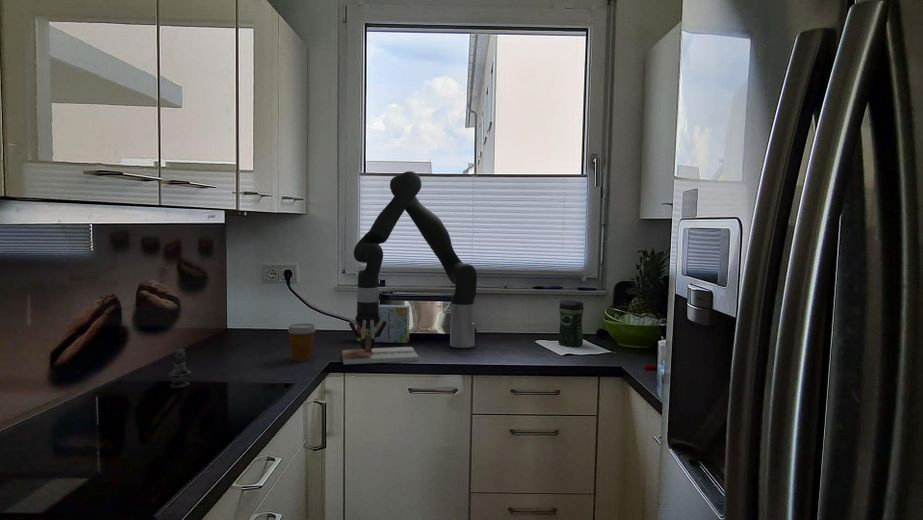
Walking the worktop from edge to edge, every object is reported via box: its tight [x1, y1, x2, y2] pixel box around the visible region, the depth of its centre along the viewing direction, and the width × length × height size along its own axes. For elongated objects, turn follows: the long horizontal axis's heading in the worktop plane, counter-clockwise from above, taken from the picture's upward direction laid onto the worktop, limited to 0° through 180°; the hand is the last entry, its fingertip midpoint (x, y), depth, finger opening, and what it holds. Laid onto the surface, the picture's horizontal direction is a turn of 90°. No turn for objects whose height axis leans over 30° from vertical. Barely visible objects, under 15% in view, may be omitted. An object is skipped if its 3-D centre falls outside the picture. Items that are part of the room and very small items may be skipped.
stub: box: [342, 334, 373, 358], centre depth 181 cm, size 10×5×6 cm, turn 105°
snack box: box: [356, 304, 410, 344], centre depth 214 cm, size 21×6×15 cm, turn 84°
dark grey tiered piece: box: [168, 343, 192, 389], centre depth 151 cm, size 6×6×12 cm
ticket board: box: [341, 346, 420, 365], centre depth 187 cm, size 26×13×2 cm, turn 105°
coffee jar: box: [557, 299, 585, 348], centre depth 214 cm, size 10×8×19 cm
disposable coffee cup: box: [287, 323, 317, 363], centre depth 182 cm, size 10×10×12 cm
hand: (367, 348), depth 182 cm, fingers closed on stub, 2 cm apart
